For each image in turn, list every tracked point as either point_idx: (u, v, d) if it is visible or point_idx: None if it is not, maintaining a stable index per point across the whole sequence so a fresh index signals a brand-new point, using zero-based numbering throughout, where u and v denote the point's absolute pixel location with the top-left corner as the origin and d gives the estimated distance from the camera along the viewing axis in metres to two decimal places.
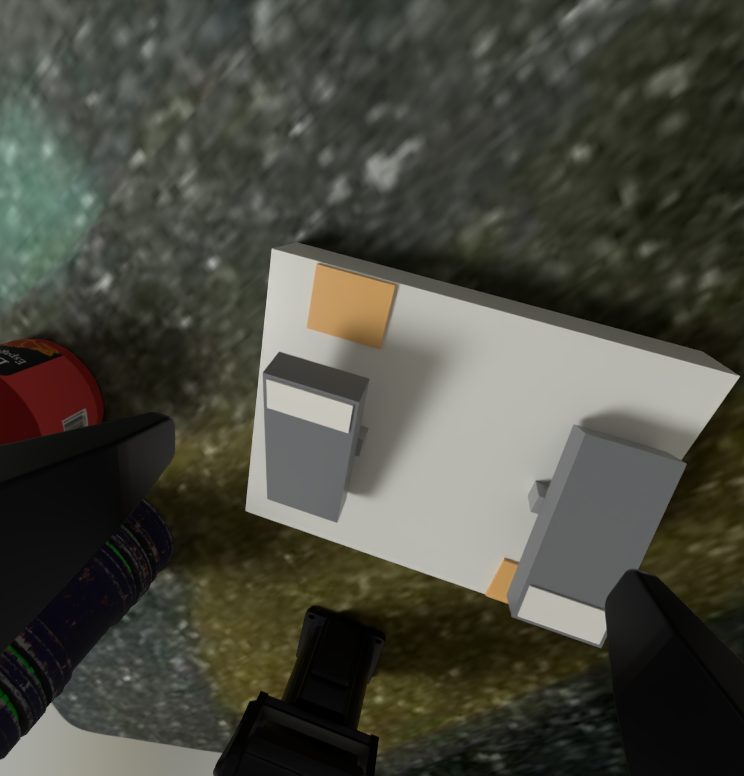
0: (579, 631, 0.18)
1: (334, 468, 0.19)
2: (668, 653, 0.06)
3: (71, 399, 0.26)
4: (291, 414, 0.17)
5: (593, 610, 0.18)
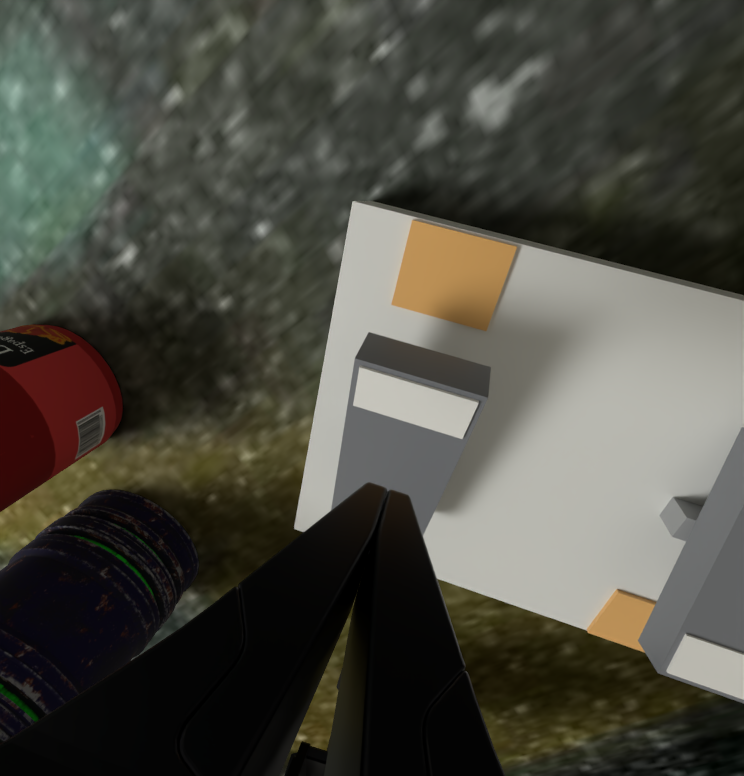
0: None
1: (429, 482, 0.15)
2: (371, 551, 0.06)
3: (87, 396, 0.22)
4: (386, 414, 0.13)
5: None
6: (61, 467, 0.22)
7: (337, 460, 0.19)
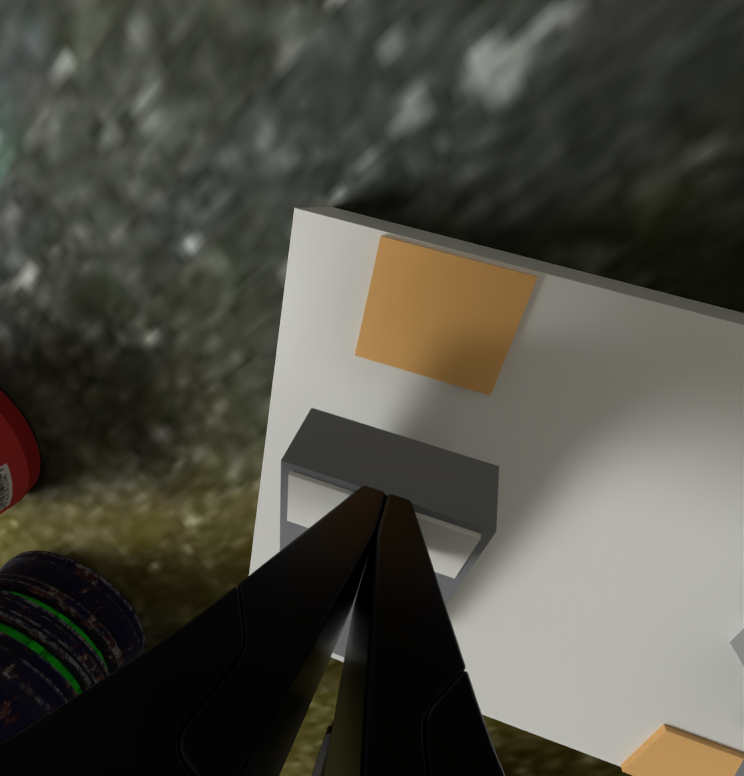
0: None
1: None
2: (371, 551, 0.06)
3: None
4: None
5: None
6: None
7: None
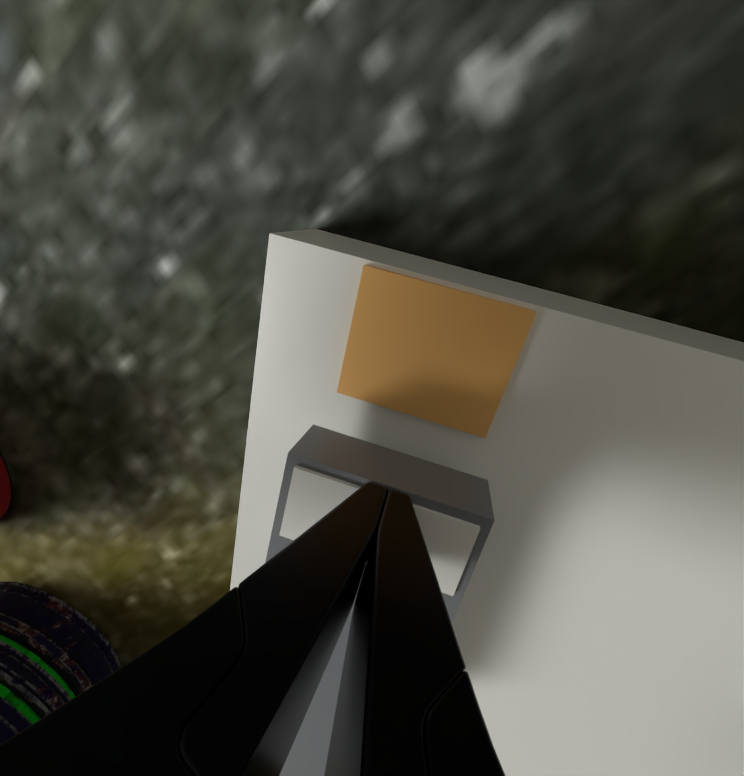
0: None
1: None
2: (372, 551, 0.06)
3: None
4: None
5: None
6: None
7: None
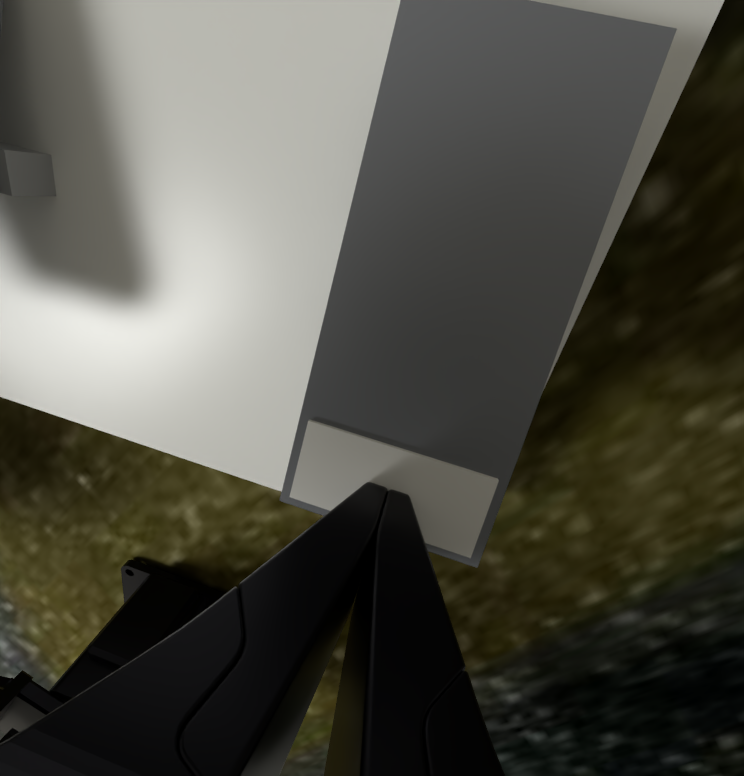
0: (424, 527, 0.08)
1: None
2: (371, 550, 0.06)
3: None
4: None
5: (451, 473, 0.07)
6: None
7: None
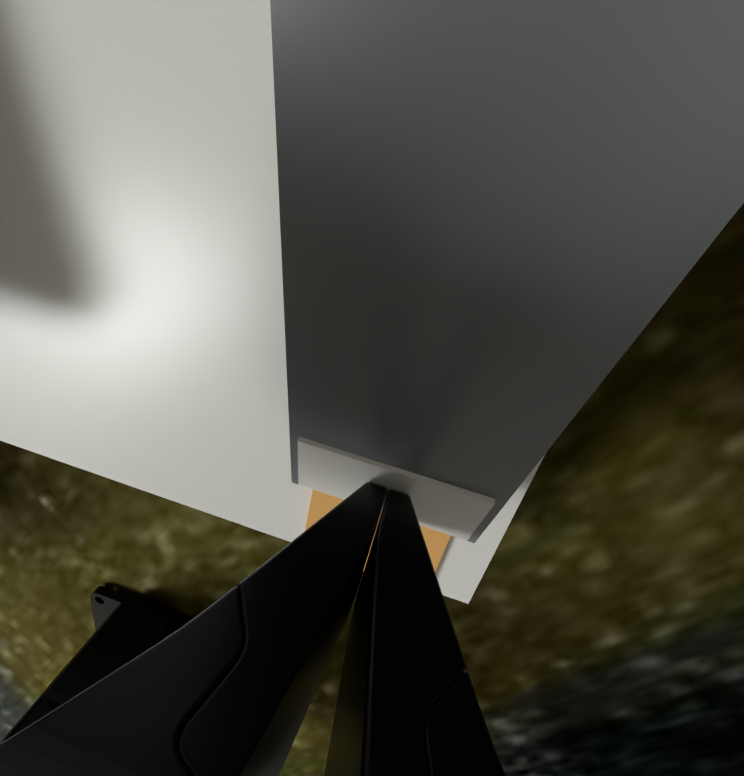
0: (423, 518, 0.08)
1: None
2: (371, 551, 0.06)
3: None
4: None
5: (446, 492, 0.07)
6: None
7: None
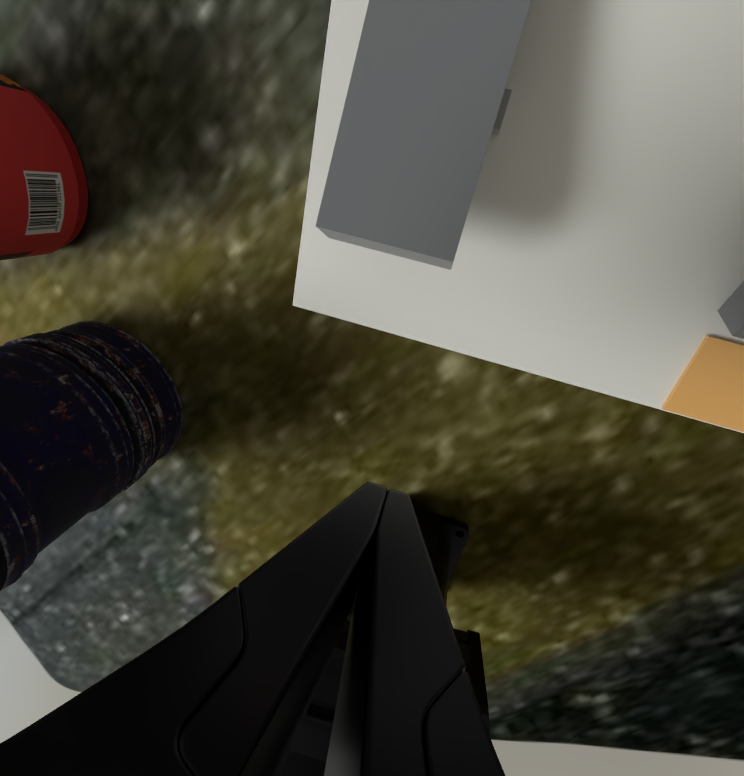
0: None
1: (482, 80, 0.10)
2: (371, 551, 0.06)
3: (39, 148, 0.18)
4: None
5: None
6: (7, 233, 0.18)
7: None
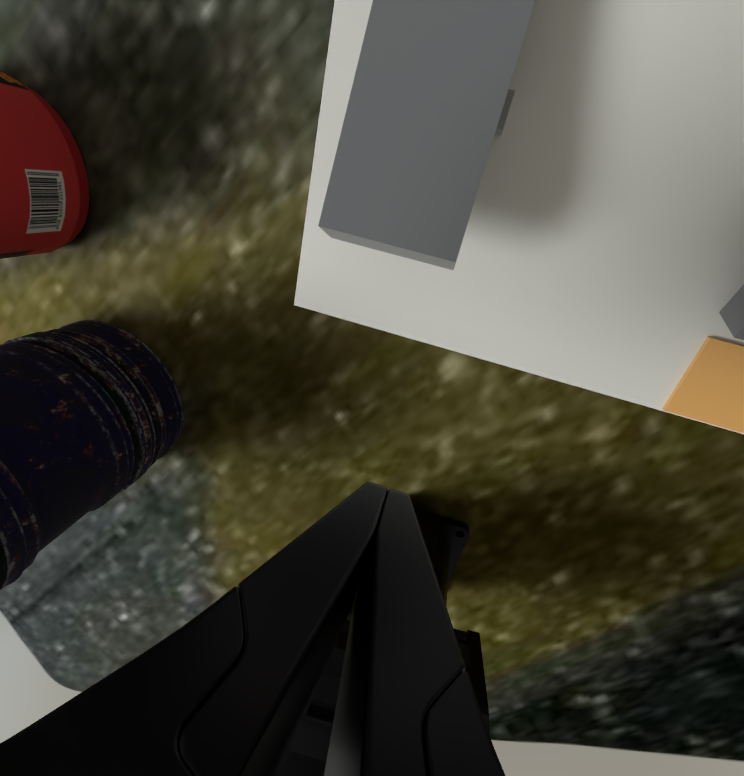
0: None
1: (486, 80, 0.10)
2: (371, 551, 0.06)
3: (40, 146, 0.18)
4: None
5: None
6: (8, 231, 0.18)
7: None
